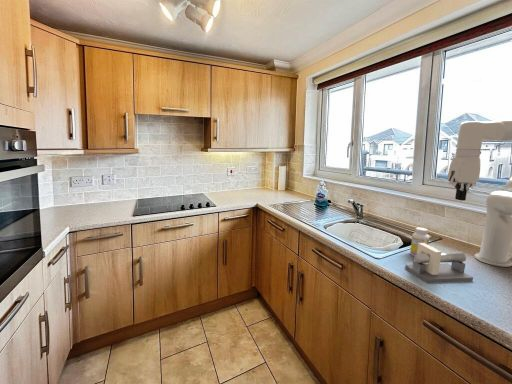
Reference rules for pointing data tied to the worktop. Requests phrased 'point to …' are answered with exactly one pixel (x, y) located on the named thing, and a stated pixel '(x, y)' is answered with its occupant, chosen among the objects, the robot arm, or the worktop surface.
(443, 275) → the base board
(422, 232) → the supplement bottle
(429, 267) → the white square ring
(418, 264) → the pipe
